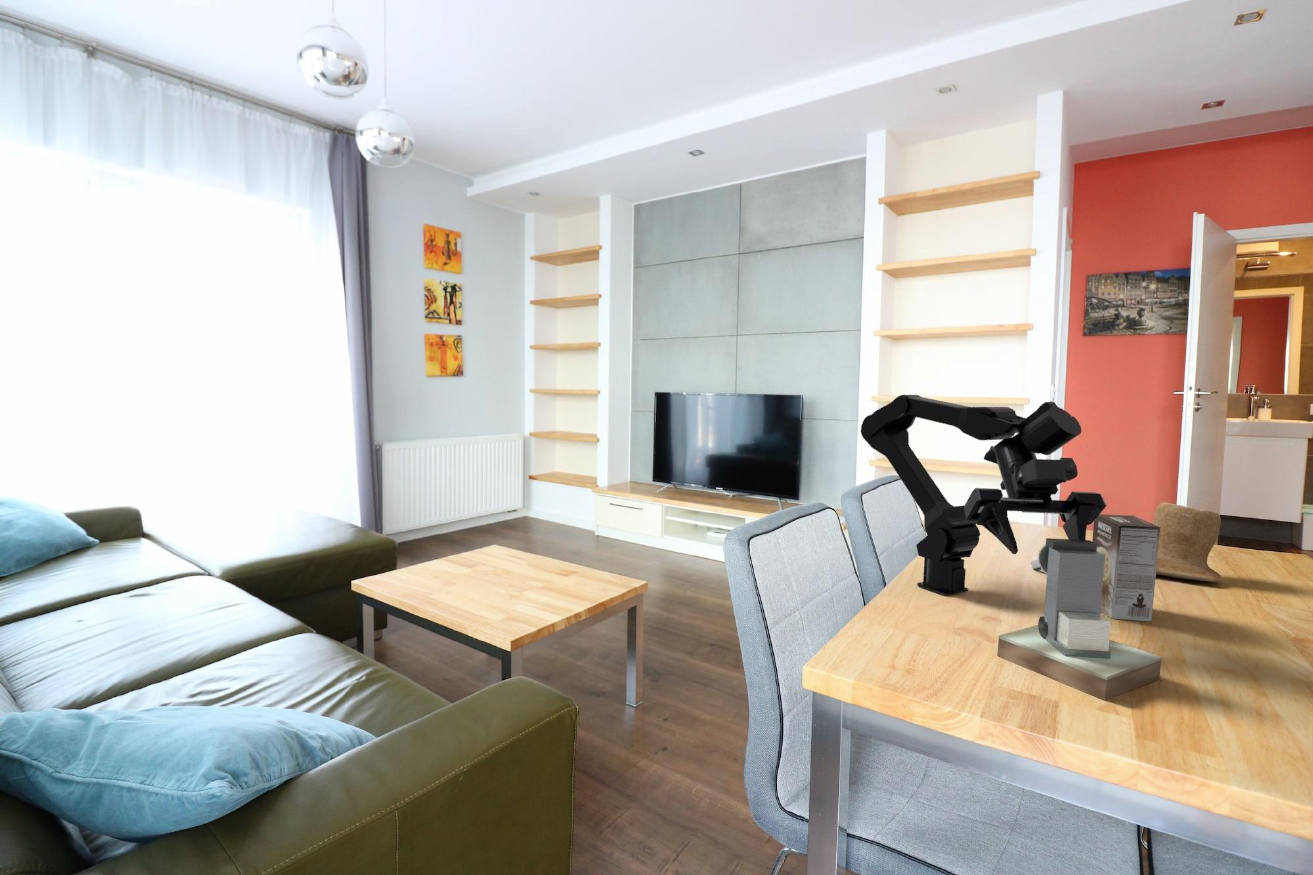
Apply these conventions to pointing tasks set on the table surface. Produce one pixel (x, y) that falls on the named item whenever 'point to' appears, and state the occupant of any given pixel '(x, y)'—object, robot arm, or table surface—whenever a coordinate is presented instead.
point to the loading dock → (1082, 664)
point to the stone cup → (1186, 541)
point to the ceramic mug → (1042, 559)
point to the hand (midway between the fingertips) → (1048, 554)
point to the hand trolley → (1075, 600)
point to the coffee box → (1127, 565)
